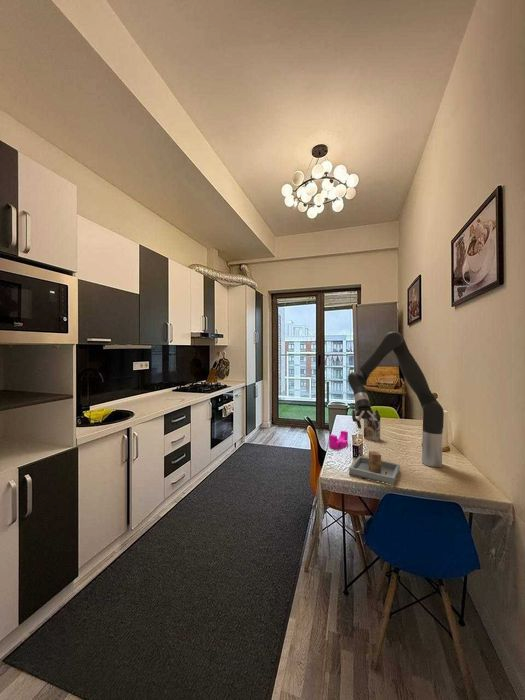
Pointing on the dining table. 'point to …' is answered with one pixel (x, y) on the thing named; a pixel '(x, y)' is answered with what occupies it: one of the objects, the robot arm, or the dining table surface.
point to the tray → (362, 470)
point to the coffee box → (371, 430)
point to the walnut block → (374, 462)
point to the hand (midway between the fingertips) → (368, 428)
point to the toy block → (338, 440)
